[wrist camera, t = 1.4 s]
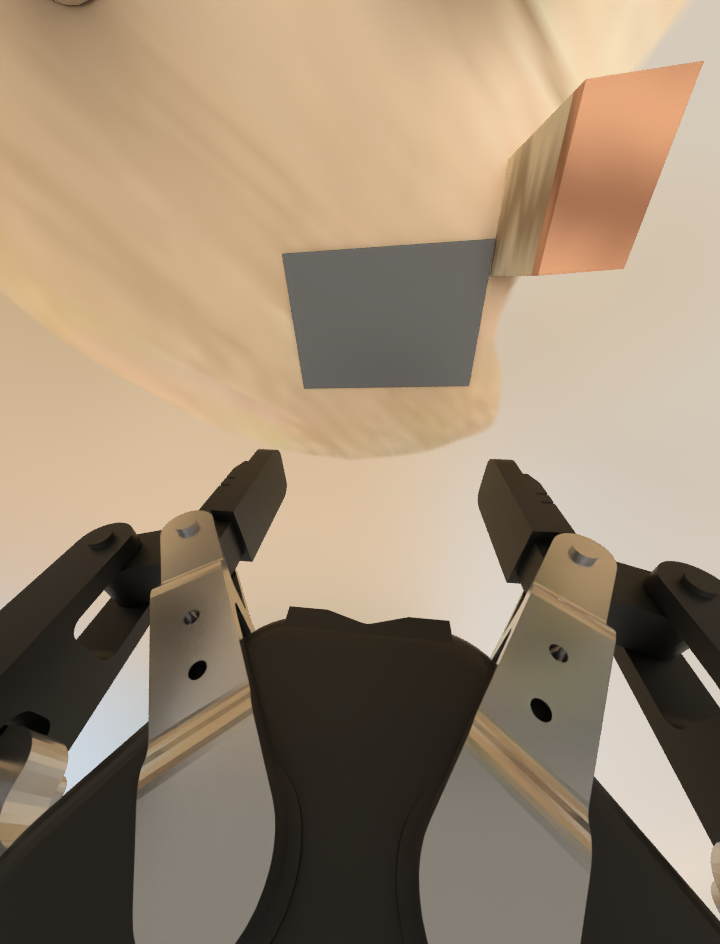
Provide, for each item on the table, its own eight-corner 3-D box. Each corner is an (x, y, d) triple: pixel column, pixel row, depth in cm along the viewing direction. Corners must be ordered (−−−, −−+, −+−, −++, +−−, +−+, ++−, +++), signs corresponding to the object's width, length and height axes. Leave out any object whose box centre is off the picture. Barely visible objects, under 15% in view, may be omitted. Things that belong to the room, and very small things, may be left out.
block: (508, 159, 20) (586, 79, 12) (575, 150, 20) (703, 61, 12) (489, 276, 24) (538, 275, 16) (544, 271, 24) (623, 268, 15)
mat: (283, 254, 25) (281, 253, 24) (493, 239, 23) (495, 238, 22) (305, 387, 32) (304, 388, 31) (468, 384, 30) (468, 386, 29)
